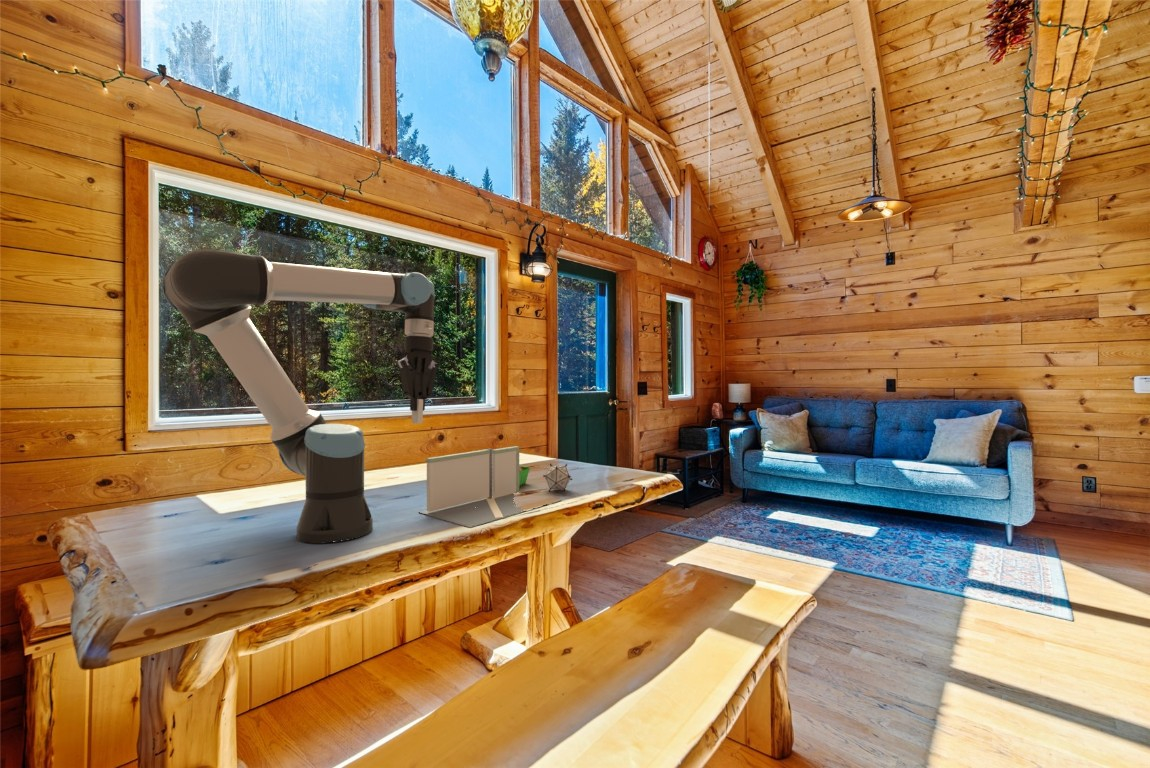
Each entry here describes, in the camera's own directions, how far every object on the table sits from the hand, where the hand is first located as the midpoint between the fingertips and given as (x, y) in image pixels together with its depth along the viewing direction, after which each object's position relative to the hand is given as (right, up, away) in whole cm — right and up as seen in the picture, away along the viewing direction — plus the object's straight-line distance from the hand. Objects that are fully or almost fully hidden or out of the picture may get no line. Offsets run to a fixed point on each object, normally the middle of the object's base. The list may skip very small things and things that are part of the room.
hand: (417, 423), depth 139 cm
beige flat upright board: (+13, -21, -3) cm, 25 cm away
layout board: (+21, -22, -4) cm, 31 cm away
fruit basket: (+23, -22, +22) cm, 38 cm away
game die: (+38, -22, +15) cm, 46 cm away
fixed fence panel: (+23, -22, +9) cm, 33 cm away
